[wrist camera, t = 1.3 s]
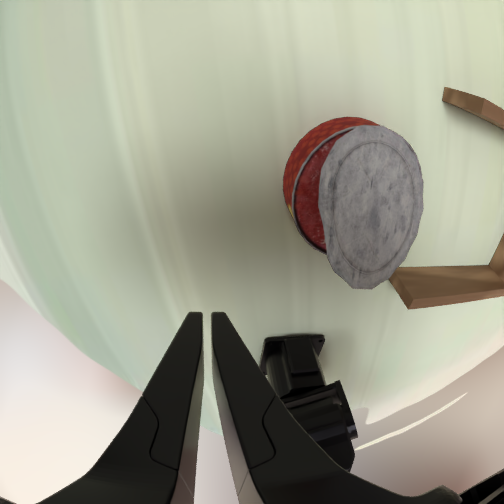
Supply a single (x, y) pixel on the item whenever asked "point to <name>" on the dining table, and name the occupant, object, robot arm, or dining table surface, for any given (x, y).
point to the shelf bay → (455, 277)
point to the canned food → (356, 197)
